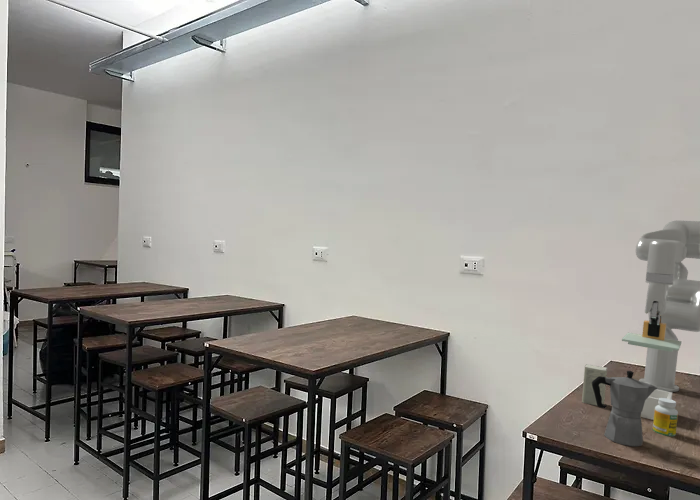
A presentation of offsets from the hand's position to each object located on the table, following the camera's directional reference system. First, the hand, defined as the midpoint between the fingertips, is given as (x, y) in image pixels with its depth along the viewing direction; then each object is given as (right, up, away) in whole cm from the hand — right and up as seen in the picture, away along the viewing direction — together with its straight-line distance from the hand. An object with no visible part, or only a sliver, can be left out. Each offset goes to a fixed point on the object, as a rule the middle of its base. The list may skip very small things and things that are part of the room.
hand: (653, 335), depth 161 cm
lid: (-3, -2, -4) cm, 5 cm away
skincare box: (-23, -21, -6) cm, 31 cm away
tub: (-10, -22, -10) cm, 26 cm away
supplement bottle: (-13, -23, -26) cm, 37 cm away
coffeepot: (-28, -22, -31) cm, 47 cm away
